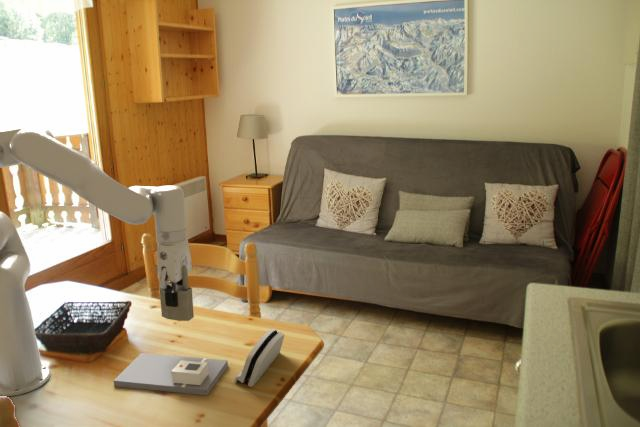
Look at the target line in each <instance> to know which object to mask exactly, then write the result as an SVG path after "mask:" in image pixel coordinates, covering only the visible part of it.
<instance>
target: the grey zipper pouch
mask: <svg viewBox="0 0 640 427" xmlns="http://www.w3.org/2000/svg"><path fill="white" fill-rule="evenodd" d="M285 336H286V335H285V333H283V332H281V331H280V332H278V330H277V329H275V328H270V329H268V330H267V331H266V332H265V333H264V334H263V335H262V336H261V337H260V338H259V340H258V341H257V342H256V344H255V345H254V346H253V348H252V349H251V350H250V352H249V353H248V355H247V357H246V359H245V362H244V365H243V368H242V370H240V372H239V373H238V374H237V376H235V379H234V382H233V384H236V385H237V383H238V382H240V383H242V384H243V383H246V384H247V386H248V387H250V388H251V387H252V388H253V387H254V386H255V385H256V383H257V382H258V380H260V378H261V377H262V376H263V375H264V373H265V372H266V371H267V369H268V368H269V367H270V366H271V364H272V363H273V362H274V361H275V359H276V358H277V357H278V356H279V354H280V353H281V349H282V346H283V342H284V339H285Z"/></svg>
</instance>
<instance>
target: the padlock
mask: <svg viewBox="0 0 640 427" xmlns="http://www.w3.org/2000/svg"><path fill="white" fill-rule="evenodd" d="M182 267H183V268H182V271H183V278H182V283H183V285H177V284H176V291H175V292H177V297H178V306H177V307H170V306H166V303H165V292H164V291H163V289H162V288H160V287H159V297H160V298H159V300H160V309H161V310H160V311H161V317H162V318H164V319H166V320H171V321H179V322H189V321H191V320H192V319H194V318H195V315H194V301H193V299H194V298H193V289H192V287H190V286H189V275H188V274H189V273H188V272H187V268H186V266H185V265H183V266H182ZM167 280H169V278H167ZM168 285H170V286H171V287H172V283H168Z"/></svg>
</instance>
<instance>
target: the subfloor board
mask: <svg viewBox="0 0 640 427" xmlns="http://www.w3.org/2000/svg"><path fill="white" fill-rule="evenodd" d="M181 360H183V361H195V362H207V363H208V370H209V374H208V375H207V377H206V378H205V380H204V381H203V382H202V384H201V385H192V384H182V383H173V382H172V373H171V371H172V370H173V369H174V368H175V366H176V365H177V364H178V363H179V362H180V361H181ZM228 362H229V361H228V360H227V359H217V358H207V357H192V356H191V357H190V356H182V355H168V354H167V355H166V354H156V353H155V354H154V353H146V352H145V353H144V352H141V353H140V354H139V355H138V356H136V358H135V359H134V360H133V361H132V362H131V363H130V364H128V366H127V367H125V368H124V369H123V371H122V372H120V373H119V375H118V376H116V377H115V379H113V386H114V387H120V388H122V387H123V388H130V389H139V390H148V391H149V390H150V391H151V390H152V391H161V392H168V393H169V392H170V393H179V394H181V393H182V394H192V395H201V396H208V395H209V393H211V391H212V389H213V388H214V386H215V385H216V384H217V382H218V381H219V379H220V378H221V376H222V375H223V374H224V372H225V370H226V369H227V367H228V366H229V363H228Z"/></svg>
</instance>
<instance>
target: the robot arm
mask: <svg viewBox="0 0 640 427" xmlns="http://www.w3.org/2000/svg"><path fill="white" fill-rule="evenodd" d="M17 165H23V167H26V168H28V169H29V170H32V171H34V172H36V173H38V174H39V175H41V176H44V177H45V178H46V179H47V178H48V179H50V180H52V181H53V182H55V183H57V184H59V185H61V186H63V187H65V188H66V189H69V190H71V191H72V192H74V193H75V194H76V195H78V196H79V197H81V198H82V199H83V200H85V201H87V202H88V203H90V204H91V205H92V206H94V207H95V208H97V209H99V210H101V211H102V212H104V213H106V214H108V215H110V216H112V217H115V218H116V219H118V220H120V221H122V222H124V223H126V224H129V225H135V226H137V225H142V224H146V222H148V221H149V220H150V218H151V217H152V216H154V228H155V238H156V239H155V240H156V243H157V247H156V248H157V249H156V250H157V251H156V254H157V255H156V258H157V259H156V261H157V262H156V268H157V277H158V280H159V284H158V286H159V287H160V288H162V289H163V291H164V292H165V303H166V306H170V307H177V306H178V297H177V292H175V291H176V284H177V285H183V283H182V278H183V271H182V268H183V267H182V266H183V265H185V266H186V268H187V272H188V274H190V273H191V271H192V258H191V257H192V256H191V251H190V245H189V240H188V233H187V219H186V218H187V217H186V205H185V202H186V201H185V193H184V189H183V188H182V187H181V186H179V185H172V184H171V185H170V184H169V185H161V186H147V185H145V186H144V185H133V186H129V187H127V186H125V185H124V184H121V183H120V182H118V181H117V180H115V179H114V178H112V177H111V176H110V175H108V174H107V173H106V172H105V171H103V169H102V168H101V167H100V166H99V165H98V164H97V162H95V161H94V160H93V159H92V158H90V157H89V156H87V155H85V154H83V153H81V152H79V151H78V150H75V149H74V148H72V147H70V146H68V145H66V144H64V143H62V142H61V141H59V140H57V139H56V138H55V136H54V135H53V134H52V132H51V131H50V130H49V129H47V128H45V127H43V126H40V125H27V126H22V127H18V128H12V129H6V130H0V169H1V168H7V167H12V166H17ZM30 272H31V262H30V259H29V255H28V254H27V251H26V248H25V247H24V244H23V242H22V240H21V237H20V236H19V233H18V230H17V227H16V225H15V224H14V222H13V221H12V218H10V216H8V214H6V213H5V212H3V211H1V210H0V396H1V397H2V396H3V397H12V396H19V395H24V394H26V393H29V392H31V391H34V390H36V389H39V388H40V387H41V386H43V385H44V384H45V383H46V382H47V381H48V380H49V379H50V377H51V370H50V367H48V366H46V365H43V364H42V361H41V356H40V351H39V346H38V341H37V334H36V330H35V325H34V320H33V316H32V310H31V307H30V302H29V300H28V297H27V294H26V288H25V285H26V282H27V279H28V278H29V275H30ZM167 278H168V279H167ZM168 284H172V287H171V286H170V285H168Z"/></svg>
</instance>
